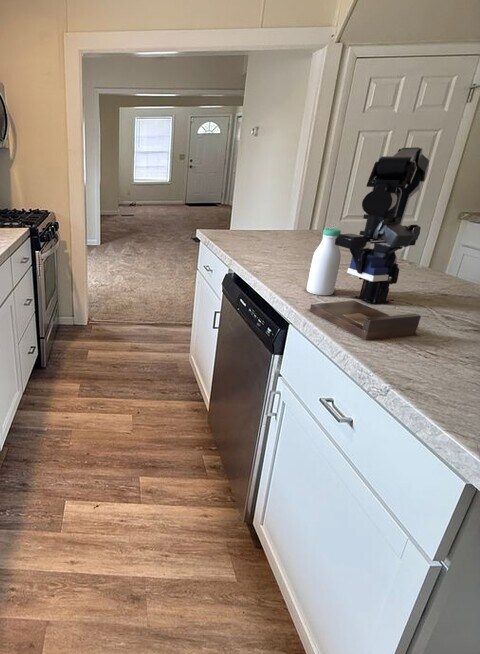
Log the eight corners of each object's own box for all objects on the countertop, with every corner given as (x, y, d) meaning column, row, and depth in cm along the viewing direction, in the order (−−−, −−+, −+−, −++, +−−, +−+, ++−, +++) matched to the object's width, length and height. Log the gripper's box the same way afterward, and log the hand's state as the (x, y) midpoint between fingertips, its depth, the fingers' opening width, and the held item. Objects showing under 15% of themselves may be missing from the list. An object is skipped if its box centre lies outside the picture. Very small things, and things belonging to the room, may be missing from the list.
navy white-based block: (346, 272, 108) (351, 254, 106) (361, 271, 109) (365, 253, 107) (372, 281, 100) (377, 262, 99) (387, 280, 101) (392, 261, 99)
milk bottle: (338, 295, 125) (352, 231, 118) (313, 296, 125) (326, 231, 118) (325, 288, 132) (338, 227, 125) (301, 288, 133) (313, 227, 125)
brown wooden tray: (309, 310, 114) (312, 294, 112) (352, 306, 116) (356, 290, 114) (365, 339, 96) (370, 320, 94) (415, 334, 98) (421, 315, 96)
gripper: (376, 217, 89) (360, 284, 95) (446, 213, 92) (426, 278, 98) (339, 211, 100) (327, 272, 105) (404, 208, 103) (388, 267, 109)
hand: (367, 272), depth 104 cm, fingers closed on navy white-based block, 4 cm apart
